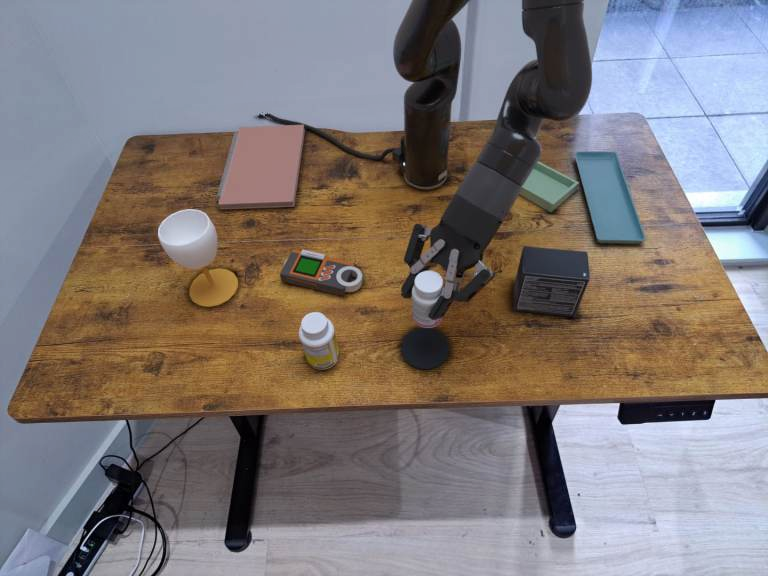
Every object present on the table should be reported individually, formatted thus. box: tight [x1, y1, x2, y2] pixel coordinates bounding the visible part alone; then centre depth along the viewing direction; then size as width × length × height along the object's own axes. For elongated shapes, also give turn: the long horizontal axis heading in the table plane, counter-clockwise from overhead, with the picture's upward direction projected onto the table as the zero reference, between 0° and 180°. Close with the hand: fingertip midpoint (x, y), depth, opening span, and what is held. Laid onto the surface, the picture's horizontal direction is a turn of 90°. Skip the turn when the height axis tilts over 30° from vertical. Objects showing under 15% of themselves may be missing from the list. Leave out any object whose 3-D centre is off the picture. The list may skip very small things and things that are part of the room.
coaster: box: [400, 327, 450, 371], centre depth 85 cm, size 8×8×1 cm
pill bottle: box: [411, 270, 445, 329], centre depth 74 cm, size 5×5×8 cm
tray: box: [518, 160, 580, 213], centre depth 107 cm, size 11×9×2 cm
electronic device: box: [279, 248, 363, 297], centre depth 94 cm, size 7×3×15 cm
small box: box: [512, 245, 591, 318], centre depth 86 cm, size 11×6×10 cm, turn 80°
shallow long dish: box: [573, 150, 647, 245], centre depth 104 cm, size 26×9×2 cm, turn 177°
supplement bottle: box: [298, 311, 340, 371], centre depth 81 cm, size 6×6×10 cm
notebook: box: [215, 124, 306, 211], centre depth 115 cm, size 27×17×2 cm, turn 1°
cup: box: [157, 208, 239, 308], centre depth 89 cm, size 9×9×16 cm
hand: (419, 307), depth 74 cm, fingers closed on pill bottle, 4 cm apart
